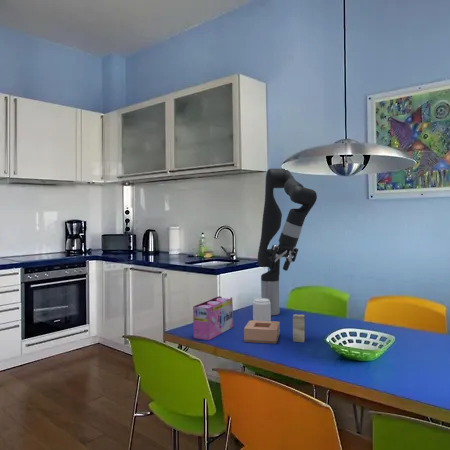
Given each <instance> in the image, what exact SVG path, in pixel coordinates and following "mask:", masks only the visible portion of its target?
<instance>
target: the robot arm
mask: <svg viewBox="0 0 450 450" xmlns="http://www.w3.org/2000/svg"><path fill="white" fill-rule="evenodd" d="M285 169H286V168H269V169H267V172H266V174H265V192H264V193H265V195H264V205H263V212H262V213H263V214H262V221H261V223H262V224H261V235H260V242H259V246H258V252H257V264H258V266H259V267H261V268H268V269H269V270H268V271H265V273H262V274H261V275H260V287H261V288H260V289H261V290H260V291H261V292H260V293H261V294H260V295H261V296H260V298H266V299H269V301H270V303H271V316H277V315H280V273H281V271H280V269H281V268H280V267H281V259H282V258H284V259H285V261H284V263H283V266H282V270H284V271H288V270H289V268H290V265H291V263H292V262H293V263H294V262H295V260H296V259H297V255H298V252H299V248H297V244H298V241H299V238H300V236H301V233H302V228H303V225H304V222H305V219H306V217H307V216H308V214H309V213H310V211H311V209H312V208H313V207H314V205H315V204H316V201H317V199H318V195H317V192H316V190H314V189H311V188H307V187H305V186H304V185H303V184H301V183H300V182H299V181H297V180H296V179H295V178H294V176H293V175H292V173H291V172H290V170H289V169H287V170H285ZM274 189H283V191H284V192H285V194H287V195H288V196H289V198H290V201H291V202H293V203H295V204H299V205H301V206H300V207H299V208H290V210H289V211H288V213H287V216H286V220H285V222H284V224H283V227H282V230H281V231H280V228H281V225H282V217H283V214H282V210H281V208H280V207H279V204H278V203H277V200H276V199H275V196H274V195H275V194H274ZM279 231H280V232H281V233H280V235H279V238H278V245H275V244H272V246H271V248H269V246H270V243H271V241H272V240H273V238H274V237H275V236H276V235H277V234H278V232H279Z"/></svg>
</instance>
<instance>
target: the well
mask: <svg viewBox="0 0 450 450" xmlns="http://www.w3.org/2000/svg"><path fill="white" fill-rule="evenodd" d="M280 323H281V322H280V321H277V320H276V321H274V320H273V321H272V320H271V321H254V320H253V319H252V320H249V321H248V322H247V324H246V325H245V326H244V328H243V340H244V341H243V342H244V343H256V344H271V345H272V344H274V345H276V344H278V342H279V341H278V340H279V338H280V335H281V334H280V333H281V331H280V330H281V327H280V326H281V325H280Z"/></svg>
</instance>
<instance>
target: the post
mask: <svg viewBox="0 0 450 450" xmlns="http://www.w3.org/2000/svg"><path fill="white" fill-rule="evenodd" d="M305 323H306V322H305V314H293V316H292V342H298V343H305V339H306V338H305V337H306V334H305V331H306V330H305V326H306V325H305Z"/></svg>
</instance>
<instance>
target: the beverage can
mask: <svg viewBox="0 0 450 450" xmlns="http://www.w3.org/2000/svg"><path fill="white" fill-rule="evenodd" d="M271 316H272V315H271V303H270V301H269V299H266V298H261V297H260V298H254V299H253V302H252V320H254V321H272V319H271V318H272V317H271Z"/></svg>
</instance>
